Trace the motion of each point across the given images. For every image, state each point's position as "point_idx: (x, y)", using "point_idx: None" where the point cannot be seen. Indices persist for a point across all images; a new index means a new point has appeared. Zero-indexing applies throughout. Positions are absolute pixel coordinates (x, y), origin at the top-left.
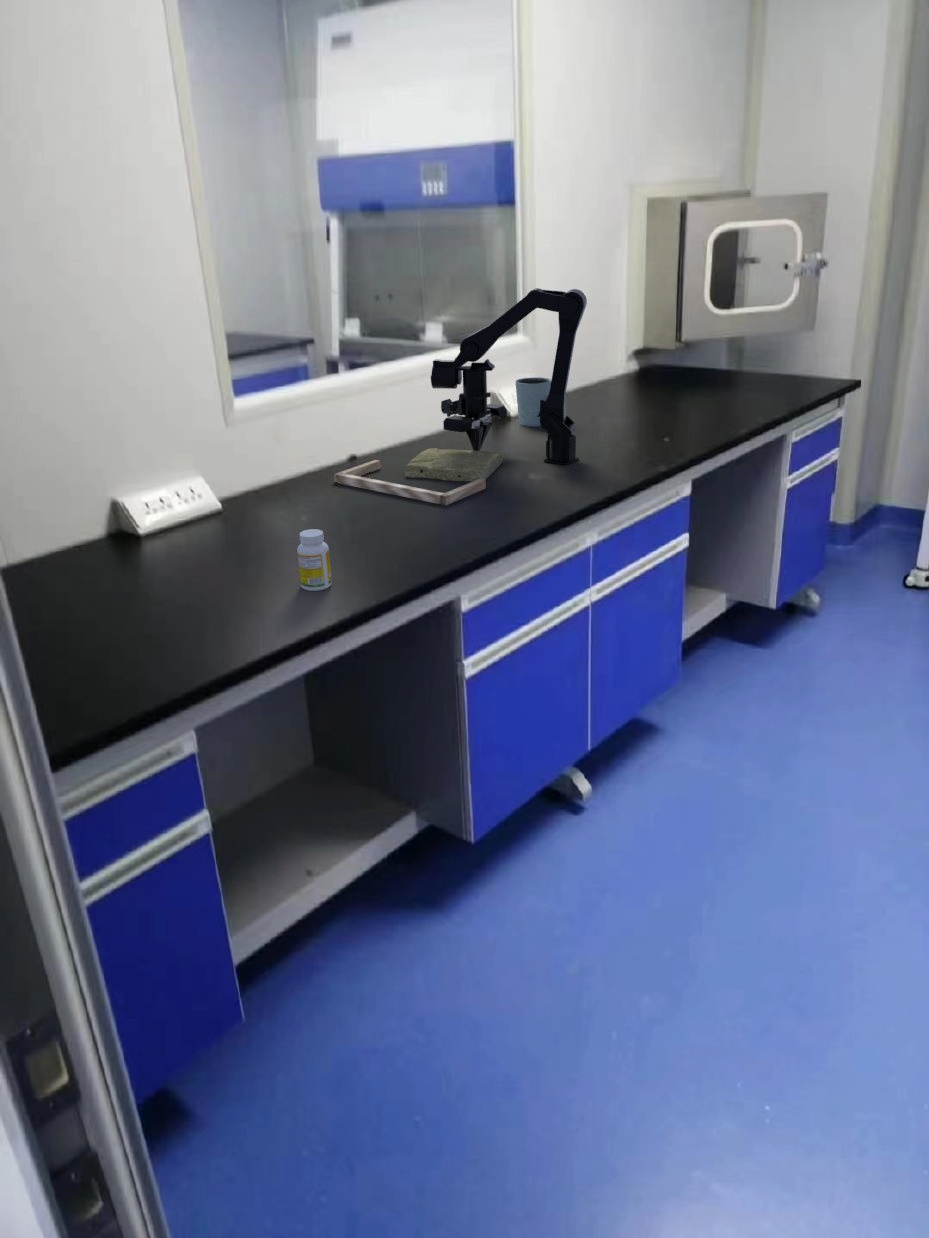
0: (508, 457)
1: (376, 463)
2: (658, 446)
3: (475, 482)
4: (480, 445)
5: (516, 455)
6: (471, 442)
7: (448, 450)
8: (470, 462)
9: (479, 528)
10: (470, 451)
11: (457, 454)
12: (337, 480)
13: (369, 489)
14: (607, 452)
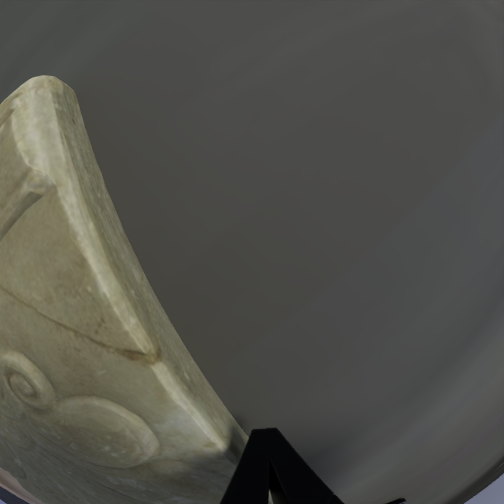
0: (356, 462)
1: None
2: (474, 486)
3: (25, 499)
4: (271, 496)
5: (393, 456)
6: (227, 494)
7: (71, 297)
8: (57, 495)
9: (2, 493)
10: (190, 451)
11: (49, 436)
12: None
13: None
14: (443, 495)
